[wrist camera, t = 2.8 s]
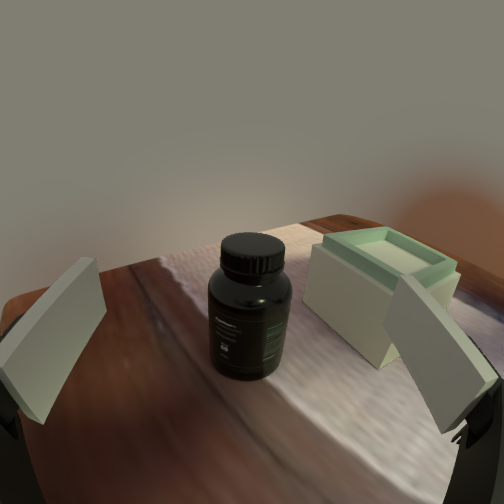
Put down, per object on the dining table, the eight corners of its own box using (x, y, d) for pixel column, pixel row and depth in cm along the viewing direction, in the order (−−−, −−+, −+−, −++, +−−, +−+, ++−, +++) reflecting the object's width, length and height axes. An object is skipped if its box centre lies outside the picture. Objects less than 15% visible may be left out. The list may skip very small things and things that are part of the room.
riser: (371, 280, 41) (385, 224, 37) (438, 326, 30) (464, 263, 26) (302, 301, 35) (314, 232, 31) (378, 370, 24) (412, 291, 20)
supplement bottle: (196, 353, 25) (189, 239, 21) (246, 326, 30) (253, 222, 25) (244, 395, 21) (253, 274, 16) (294, 358, 26) (316, 246, 21)
